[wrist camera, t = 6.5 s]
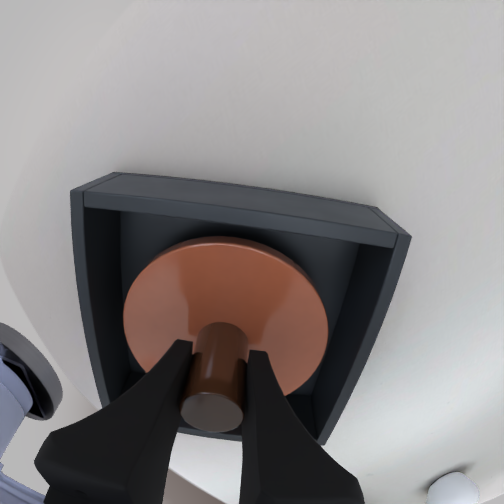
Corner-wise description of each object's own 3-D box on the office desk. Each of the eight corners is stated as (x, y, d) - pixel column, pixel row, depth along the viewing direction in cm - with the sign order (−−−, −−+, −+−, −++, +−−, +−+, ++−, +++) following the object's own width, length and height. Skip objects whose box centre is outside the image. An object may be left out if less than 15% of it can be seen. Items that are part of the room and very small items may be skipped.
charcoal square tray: (124, 370, 18) (104, 415, 15) (113, 171, 14) (69, 190, 10) (316, 397, 19) (324, 446, 15) (377, 207, 14) (413, 235, 10)
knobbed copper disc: (135, 381, 16) (108, 450, 11) (125, 221, 12) (63, 274, 8) (300, 404, 16) (308, 479, 11) (348, 252, 12) (390, 320, 8)
